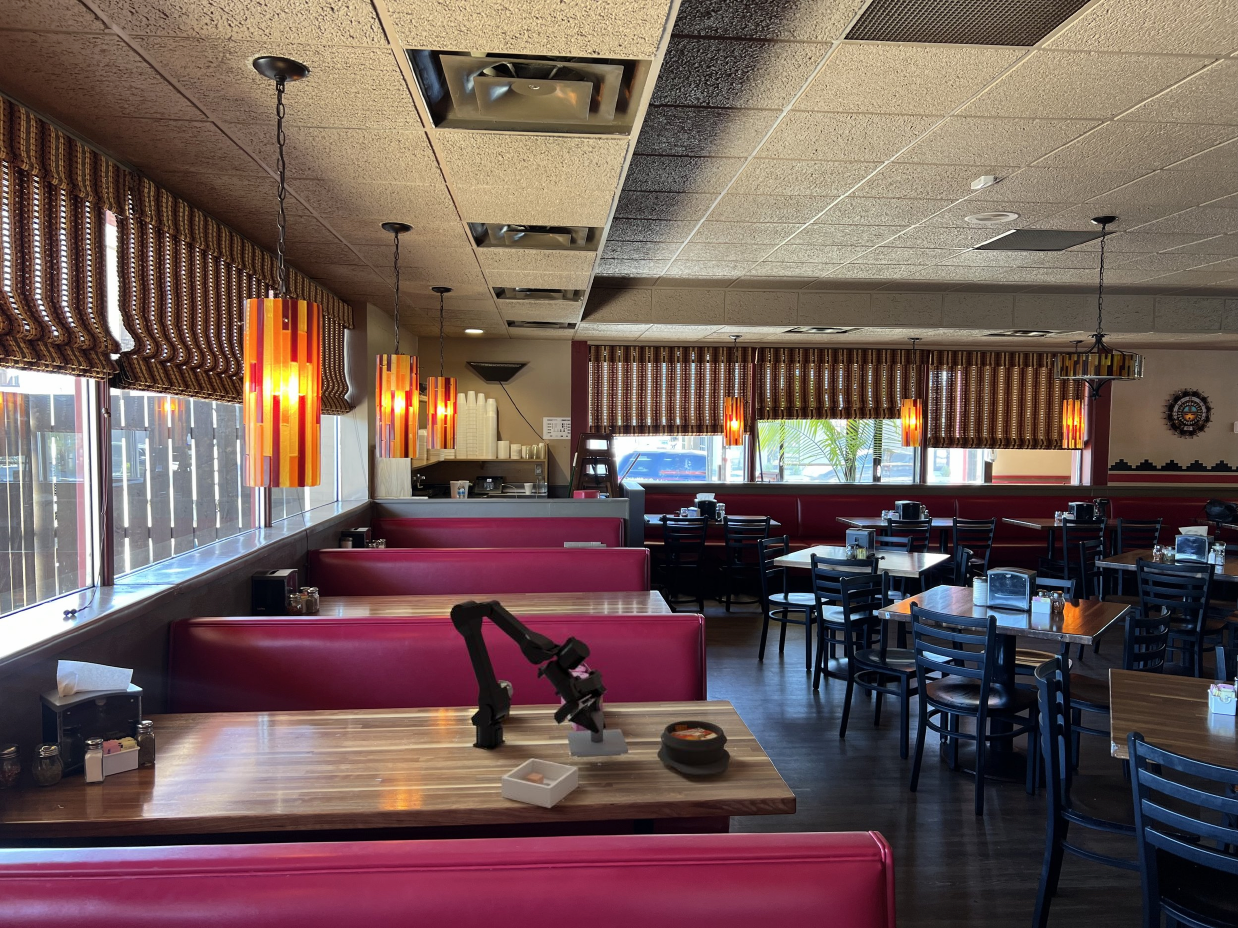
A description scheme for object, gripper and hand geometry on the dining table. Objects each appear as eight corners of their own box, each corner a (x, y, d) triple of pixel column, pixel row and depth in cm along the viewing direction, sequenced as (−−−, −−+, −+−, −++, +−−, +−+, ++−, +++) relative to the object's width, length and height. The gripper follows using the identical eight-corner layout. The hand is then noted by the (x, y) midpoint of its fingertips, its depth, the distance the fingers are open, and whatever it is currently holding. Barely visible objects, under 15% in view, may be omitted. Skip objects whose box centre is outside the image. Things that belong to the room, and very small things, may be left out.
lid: (571, 760, 204) (571, 723, 204) (567, 739, 218) (567, 704, 217) (628, 757, 206) (628, 721, 205) (620, 736, 220) (620, 702, 219)
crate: (501, 796, 194) (501, 777, 194) (531, 776, 206) (531, 757, 206) (549, 807, 188) (549, 788, 188) (578, 786, 200) (578, 767, 200)
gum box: (559, 706, 259) (559, 662, 258) (584, 704, 261) (584, 660, 260) (576, 733, 236) (576, 685, 235) (603, 730, 238) (603, 683, 237)
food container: (505, 727, 240) (505, 693, 239) (484, 726, 241) (484, 691, 241) (518, 713, 252) (518, 680, 251) (499, 712, 253) (499, 679, 253)
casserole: (647, 746, 226) (647, 715, 225) (713, 741, 229) (713, 711, 229) (670, 785, 201) (670, 750, 201) (744, 779, 205) (745, 745, 204)
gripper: (564, 671, 204) (604, 722, 200) (600, 653, 221) (638, 700, 217) (537, 698, 208) (575, 749, 204) (574, 678, 225) (610, 725, 220)
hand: (601, 730), depth 211 cm, fingers closed on lid, 3 cm apart
